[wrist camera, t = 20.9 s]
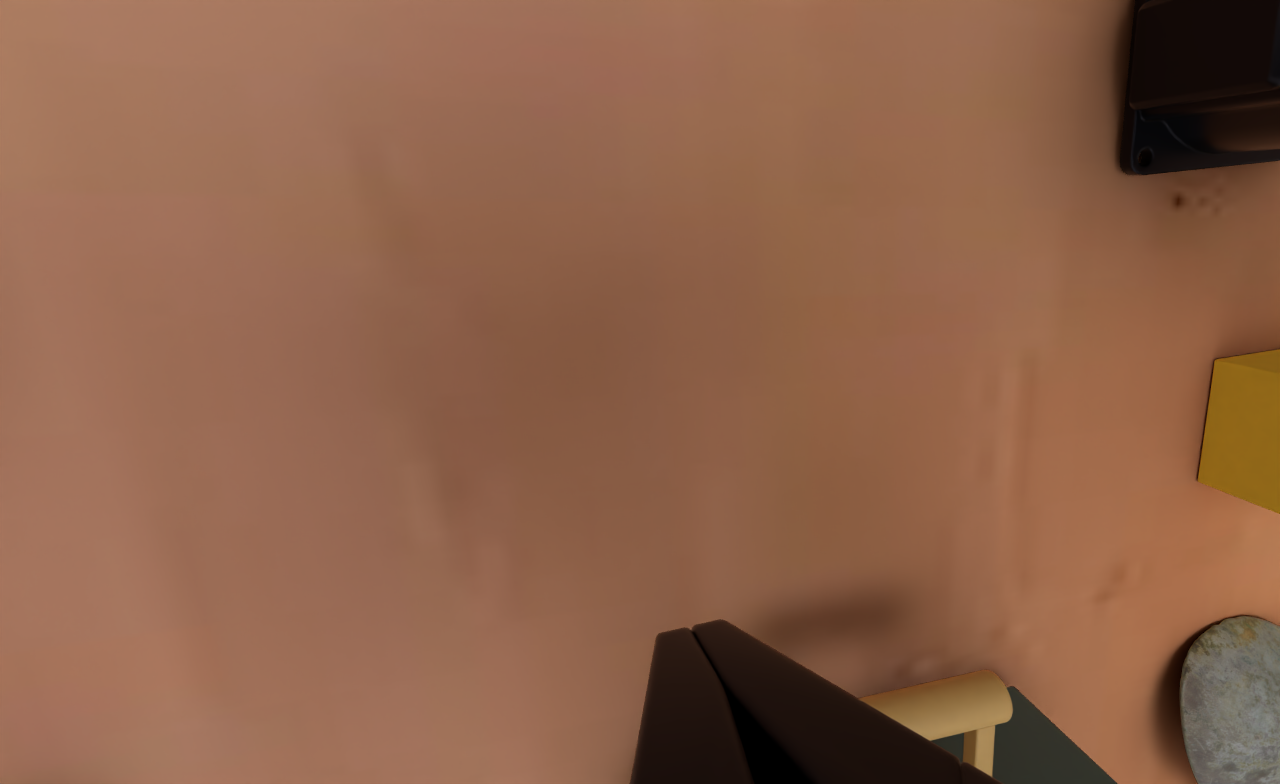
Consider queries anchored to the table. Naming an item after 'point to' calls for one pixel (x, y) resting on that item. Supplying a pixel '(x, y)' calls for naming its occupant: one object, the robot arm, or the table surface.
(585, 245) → the table surface
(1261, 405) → the sponge
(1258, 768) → the soupspoon
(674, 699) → the robot arm
